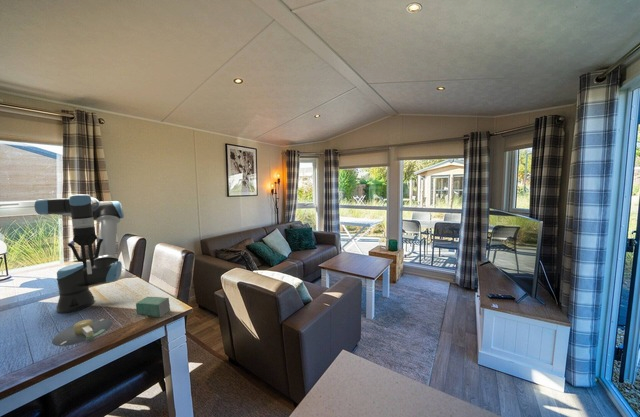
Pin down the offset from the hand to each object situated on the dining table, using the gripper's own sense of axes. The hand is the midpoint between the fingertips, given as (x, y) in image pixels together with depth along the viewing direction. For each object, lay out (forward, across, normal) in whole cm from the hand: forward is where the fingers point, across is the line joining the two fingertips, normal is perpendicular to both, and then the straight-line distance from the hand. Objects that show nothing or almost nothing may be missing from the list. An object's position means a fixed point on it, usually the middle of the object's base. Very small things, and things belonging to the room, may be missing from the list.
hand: (89, 273), depth 122 cm
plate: (+24, -5, -12) cm, 27 cm away
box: (+25, +22, -15) cm, 36 cm away
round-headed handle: (+23, -4, -15) cm, 28 cm away
